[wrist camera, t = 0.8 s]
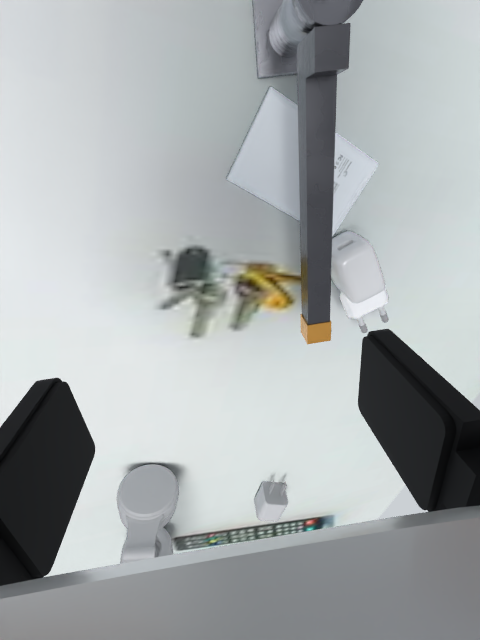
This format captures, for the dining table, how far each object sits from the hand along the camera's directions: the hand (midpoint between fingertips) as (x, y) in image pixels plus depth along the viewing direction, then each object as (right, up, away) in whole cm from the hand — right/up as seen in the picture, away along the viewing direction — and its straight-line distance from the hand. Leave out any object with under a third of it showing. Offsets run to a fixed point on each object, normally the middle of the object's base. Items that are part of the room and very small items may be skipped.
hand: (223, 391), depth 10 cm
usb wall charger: (+6, -26, +44) cm, 51 cm away
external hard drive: (+6, +17, +21) cm, 28 cm away
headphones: (-14, -28, +43) cm, 53 cm away
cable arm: (+6, +13, +15) cm, 21 cm away
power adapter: (+13, +7, +27) cm, 31 cm away
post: (+4, +25, +16) cm, 30 cm away
